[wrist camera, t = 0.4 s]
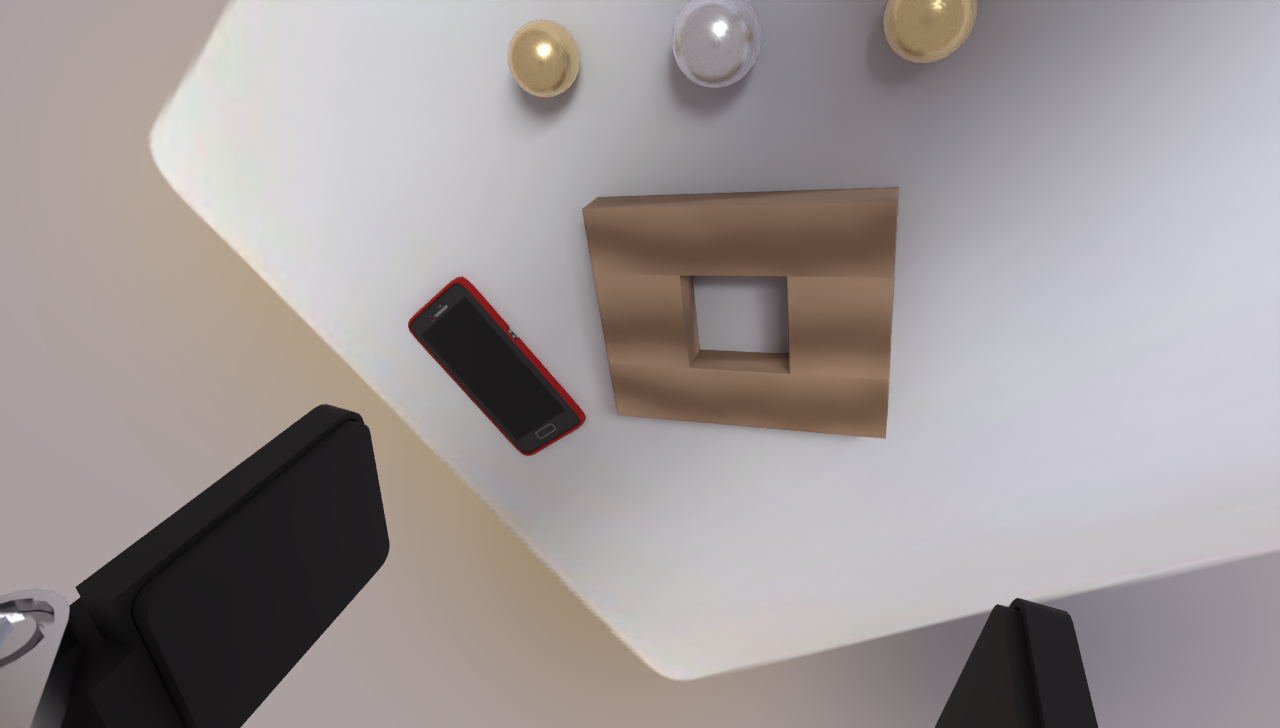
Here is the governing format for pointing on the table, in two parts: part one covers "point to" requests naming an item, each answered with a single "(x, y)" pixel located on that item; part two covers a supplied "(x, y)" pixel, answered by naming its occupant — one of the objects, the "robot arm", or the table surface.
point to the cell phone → (495, 368)
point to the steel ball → (716, 41)
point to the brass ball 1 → (543, 58)
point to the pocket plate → (750, 246)
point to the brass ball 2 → (928, 27)
